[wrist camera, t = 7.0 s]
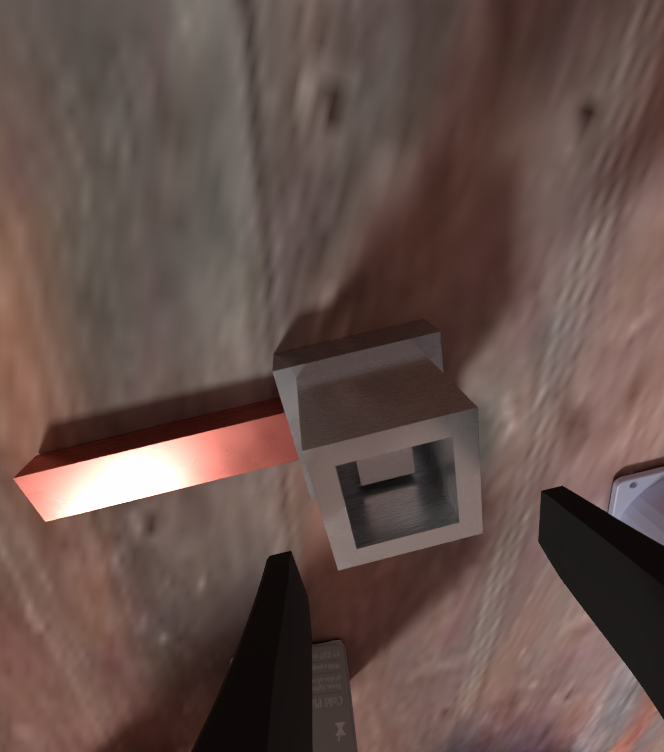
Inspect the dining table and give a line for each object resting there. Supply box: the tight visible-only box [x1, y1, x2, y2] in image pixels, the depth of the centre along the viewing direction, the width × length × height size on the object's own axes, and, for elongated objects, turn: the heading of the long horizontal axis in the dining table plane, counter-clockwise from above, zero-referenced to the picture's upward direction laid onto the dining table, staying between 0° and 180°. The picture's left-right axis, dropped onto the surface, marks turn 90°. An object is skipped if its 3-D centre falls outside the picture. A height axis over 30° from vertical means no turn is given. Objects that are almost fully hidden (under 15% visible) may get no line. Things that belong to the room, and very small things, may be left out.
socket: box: [296, 348, 483, 571], centre depth 14 cm, size 5×5×5 cm
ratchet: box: [13, 319, 444, 521], centre depth 16 cm, size 19×7×4 cm, turn 101°
